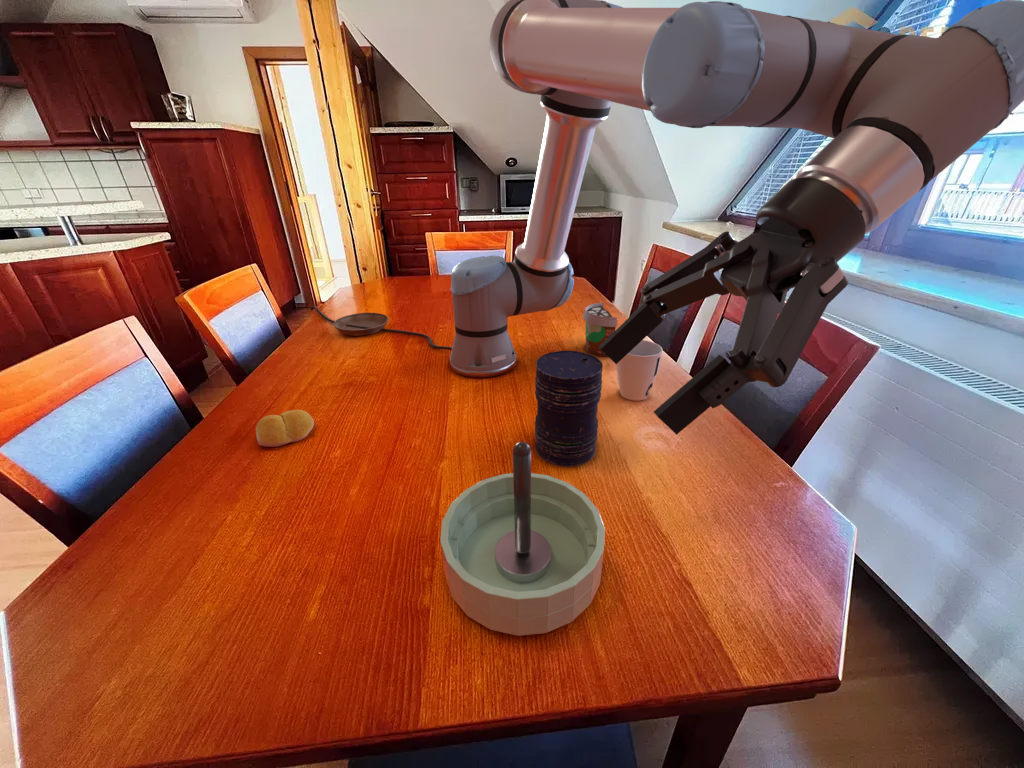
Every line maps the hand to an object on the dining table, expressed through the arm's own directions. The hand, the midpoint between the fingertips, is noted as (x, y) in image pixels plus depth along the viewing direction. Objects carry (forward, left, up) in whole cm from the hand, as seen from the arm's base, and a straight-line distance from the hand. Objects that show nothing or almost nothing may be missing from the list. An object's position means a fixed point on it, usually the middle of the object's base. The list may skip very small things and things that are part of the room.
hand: (631, 384), depth 40 cm
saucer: (-95, +10, -22) cm, 98 cm away
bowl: (-6, -9, -22) cm, 25 cm away
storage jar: (-18, +11, -22) cm, 31 cm away
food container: (-41, +46, -22) cm, 65 cm away
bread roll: (-53, -22, -22) cm, 61 cm away
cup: (-21, +34, -22) cm, 46 cm away
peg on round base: (-6, -9, -22) cm, 24 cm away
